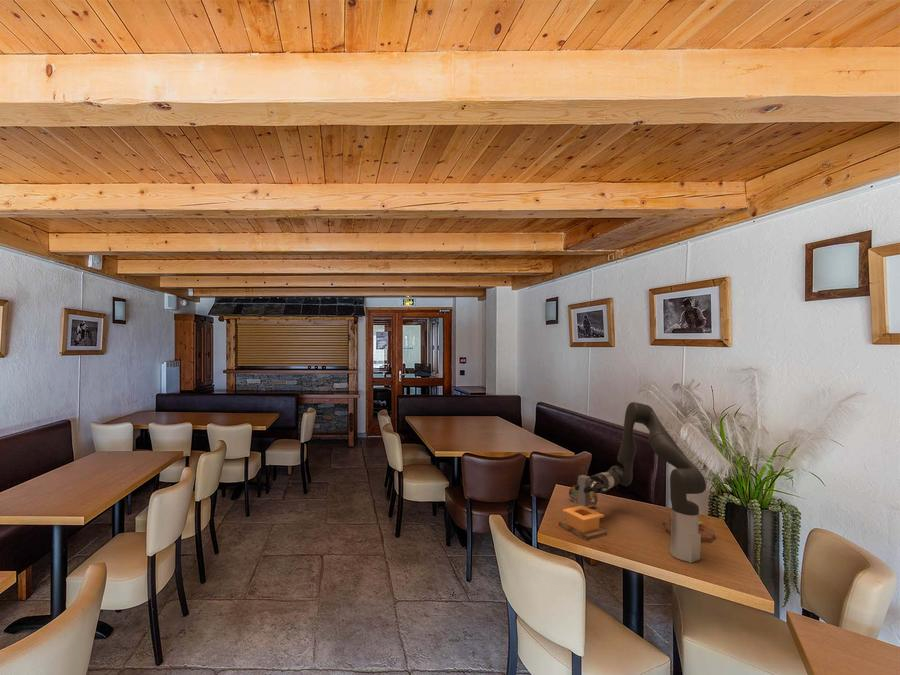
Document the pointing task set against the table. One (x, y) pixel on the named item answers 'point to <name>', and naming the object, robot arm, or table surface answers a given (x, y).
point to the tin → (574, 497)
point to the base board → (587, 534)
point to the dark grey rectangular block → (583, 497)
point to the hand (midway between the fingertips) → (580, 489)
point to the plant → (703, 529)
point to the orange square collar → (583, 518)
